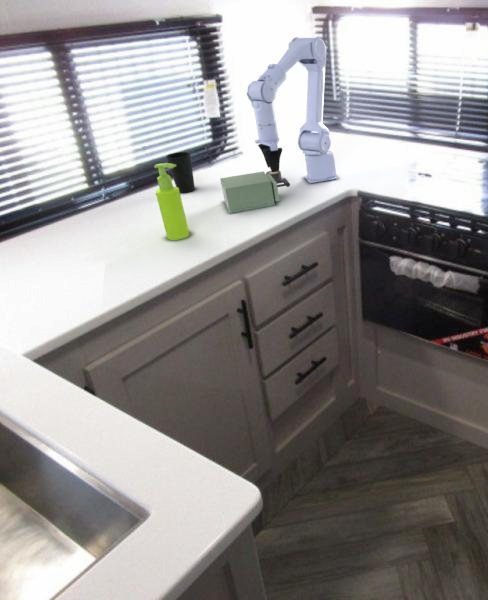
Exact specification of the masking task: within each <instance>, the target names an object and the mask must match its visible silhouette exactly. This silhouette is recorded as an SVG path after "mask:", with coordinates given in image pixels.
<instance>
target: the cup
mask: <svg viewBox="0 0 488 600" xmlns="http://www.w3.org/2000/svg"><path fill="white" fill-rule="evenodd" d="M191 157H192V156H191V152H188V151H179V152H173V153H170V154H167V155H166V156H165V159H166V161H167V162H166V163H171V164H175V165H176V167H174V168H169V171H170V173H171V176H172V179H173V182H174V185H175V187H178V188H179V192H180V194H187V193H192V192H194V191H195V190H196V188H195V180H194V173H193V172H194V171H193V165H192V158H191Z"/></svg>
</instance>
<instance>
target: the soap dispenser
mask: <svg viewBox="0 0 488 600" xmlns="http://www.w3.org/2000/svg"><path fill="white" fill-rule="evenodd" d="M174 167H176V165H175V164H171V163H168V162H161V163H156V164H154V165H153V168H154V169H158V170H157V171H158V173H159V175H158V176H157V177H156V179H157V183H158V184H157V185H158V189H157V190H155V196H156V200H157V203H158V208H159V212H160V216H161V219H162V222H163V226H164V231H165V233H166V234H165V235H166V237H167V240H169V241H179V240H183V239H186V238H188V237H189V236H190V230H189V226H188V221H187V217H186V213H185V209H184V205H183V201H182V196H181V193H180V192H179V188H178V187H176V186H174V185H173V180H172V177H171V176H172V175H169V174H167V171H166V168H167V169H170V168H174Z"/></svg>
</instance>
